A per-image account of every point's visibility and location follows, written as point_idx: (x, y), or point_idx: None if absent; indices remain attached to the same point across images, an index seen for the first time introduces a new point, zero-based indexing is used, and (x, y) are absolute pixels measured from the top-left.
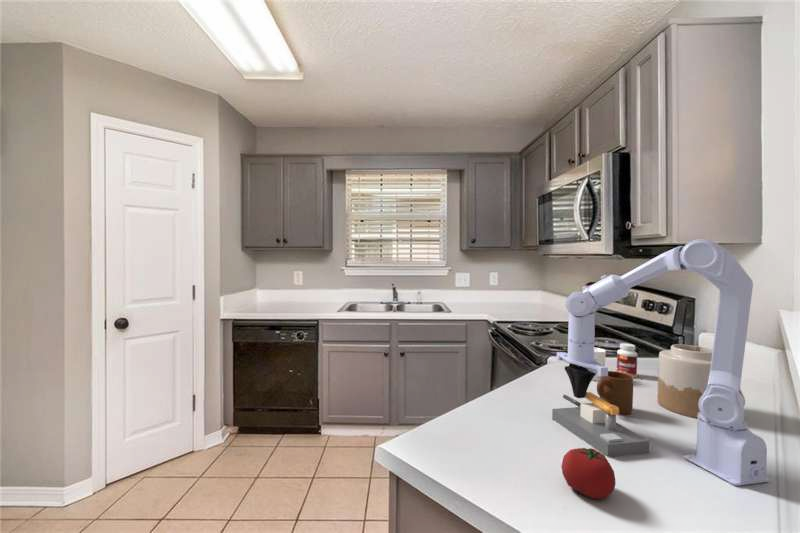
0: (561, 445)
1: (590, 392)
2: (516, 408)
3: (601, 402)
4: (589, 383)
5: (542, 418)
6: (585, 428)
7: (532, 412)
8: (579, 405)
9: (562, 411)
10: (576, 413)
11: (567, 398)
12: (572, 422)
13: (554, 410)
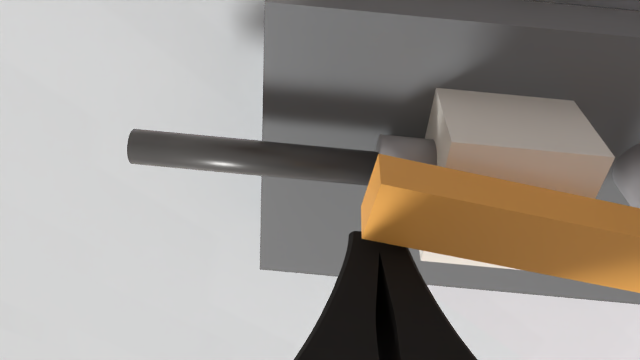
0: (518, 348)
1: (400, 194)
2: (109, 299)
3: (637, 290)
4: (462, 343)
5: (252, 263)
6: (554, 285)
7: (168, 262)
8: (349, 183)
9: (311, 244)
10: (365, 188)
11: (195, 169)
12: (456, 284)
13: (281, 269)
